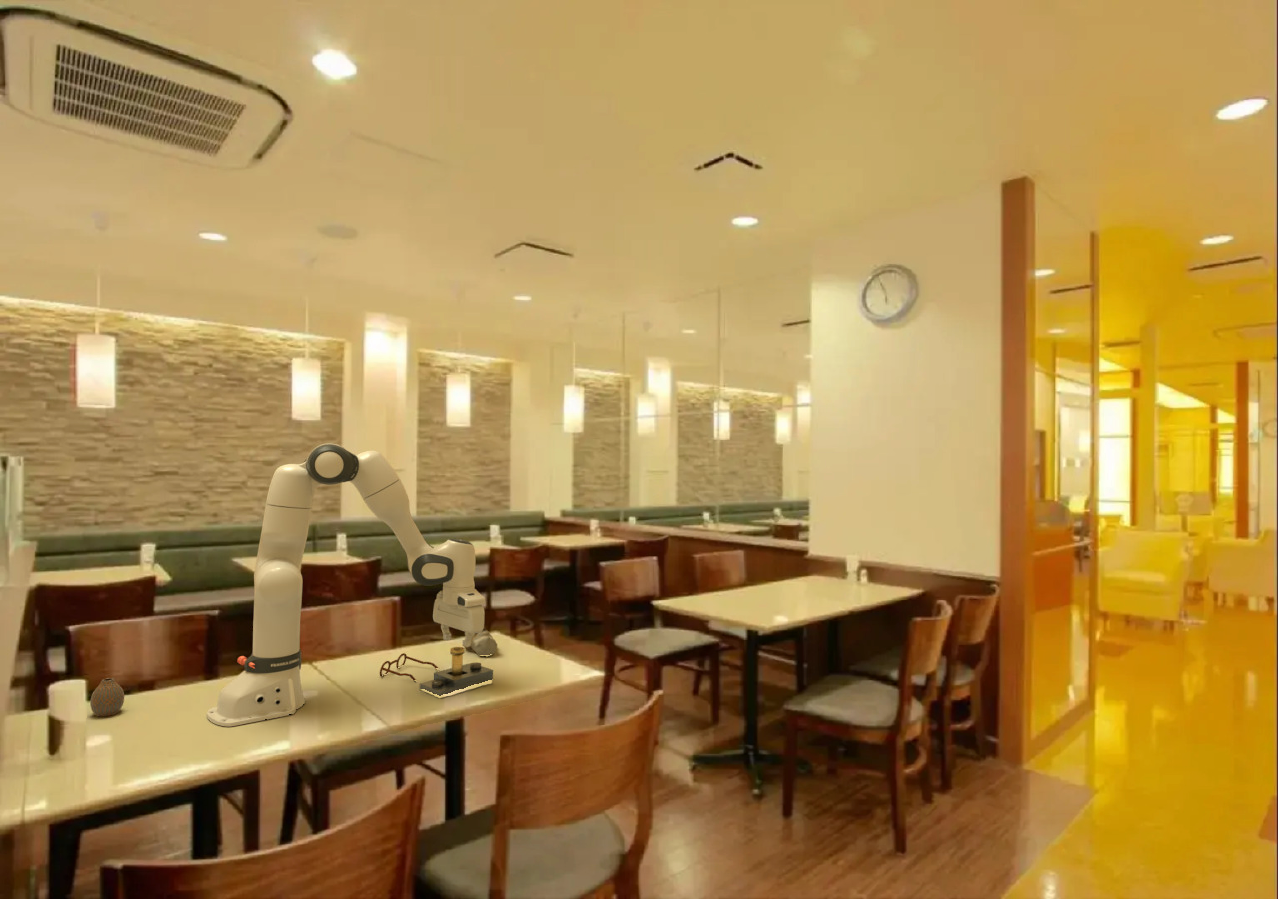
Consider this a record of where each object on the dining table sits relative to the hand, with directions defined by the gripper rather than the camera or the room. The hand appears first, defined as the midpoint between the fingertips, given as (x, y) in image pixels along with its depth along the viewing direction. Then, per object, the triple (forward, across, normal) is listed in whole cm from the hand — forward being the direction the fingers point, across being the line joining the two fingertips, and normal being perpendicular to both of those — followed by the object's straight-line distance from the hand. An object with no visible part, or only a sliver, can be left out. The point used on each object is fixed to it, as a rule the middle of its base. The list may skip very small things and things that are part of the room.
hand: (456, 643), depth 208 cm
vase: (+14, -45, -72) cm, 86 cm away
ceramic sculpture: (+13, -22, +26) cm, 37 cm away
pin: (+13, 0, +1) cm, 13 cm away
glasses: (+14, -20, -2) cm, 24 cm away
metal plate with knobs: (+13, 0, +1) cm, 13 cm away
